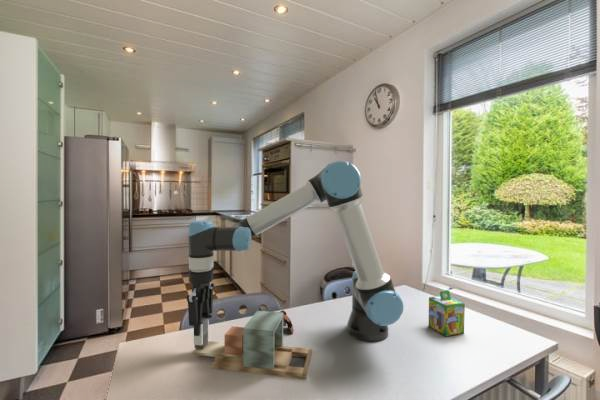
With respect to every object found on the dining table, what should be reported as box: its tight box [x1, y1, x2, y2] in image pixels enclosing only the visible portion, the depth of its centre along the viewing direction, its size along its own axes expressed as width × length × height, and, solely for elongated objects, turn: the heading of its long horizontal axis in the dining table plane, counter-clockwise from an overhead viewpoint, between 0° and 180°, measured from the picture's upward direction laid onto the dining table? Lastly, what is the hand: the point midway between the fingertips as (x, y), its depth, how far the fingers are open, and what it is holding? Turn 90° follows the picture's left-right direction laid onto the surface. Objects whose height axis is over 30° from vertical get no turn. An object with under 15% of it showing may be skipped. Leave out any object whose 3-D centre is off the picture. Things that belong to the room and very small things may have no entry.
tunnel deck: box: [212, 310, 313, 380], centre depth 87 cm, size 28×13×13 cm, turn 81°
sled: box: [192, 317, 245, 358], centre depth 89 cm, size 20×7×9 cm, turn 81°
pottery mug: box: [279, 309, 295, 335], centre depth 107 cm, size 12×10×8 cm
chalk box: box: [427, 290, 466, 337], centre depth 108 cm, size 9×9×15 cm
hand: (201, 341), depth 91 cm, fingers closed on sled, 3 cm apart
